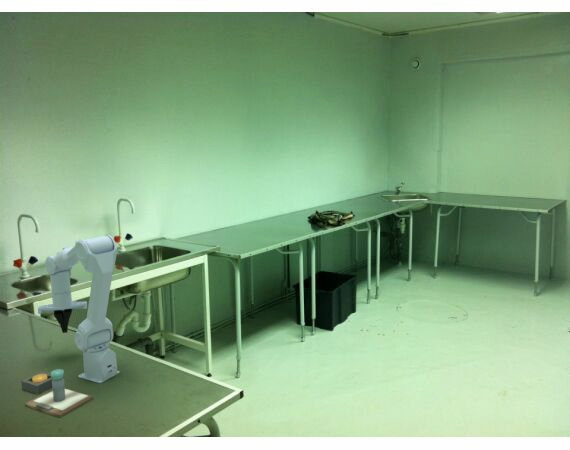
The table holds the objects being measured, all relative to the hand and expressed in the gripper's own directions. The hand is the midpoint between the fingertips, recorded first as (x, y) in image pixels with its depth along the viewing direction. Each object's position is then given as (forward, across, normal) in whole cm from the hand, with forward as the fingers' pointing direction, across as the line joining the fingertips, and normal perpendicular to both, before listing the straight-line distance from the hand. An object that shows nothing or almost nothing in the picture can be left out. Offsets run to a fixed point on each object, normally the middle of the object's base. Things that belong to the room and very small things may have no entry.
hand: (65, 331), depth 170 cm
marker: (+8, -1, +30) cm, 32 cm away
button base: (+9, +6, +18) cm, 21 cm away
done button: (+9, +6, +18) cm, 21 cm away
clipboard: (+9, -1, +30) cm, 32 cm away
